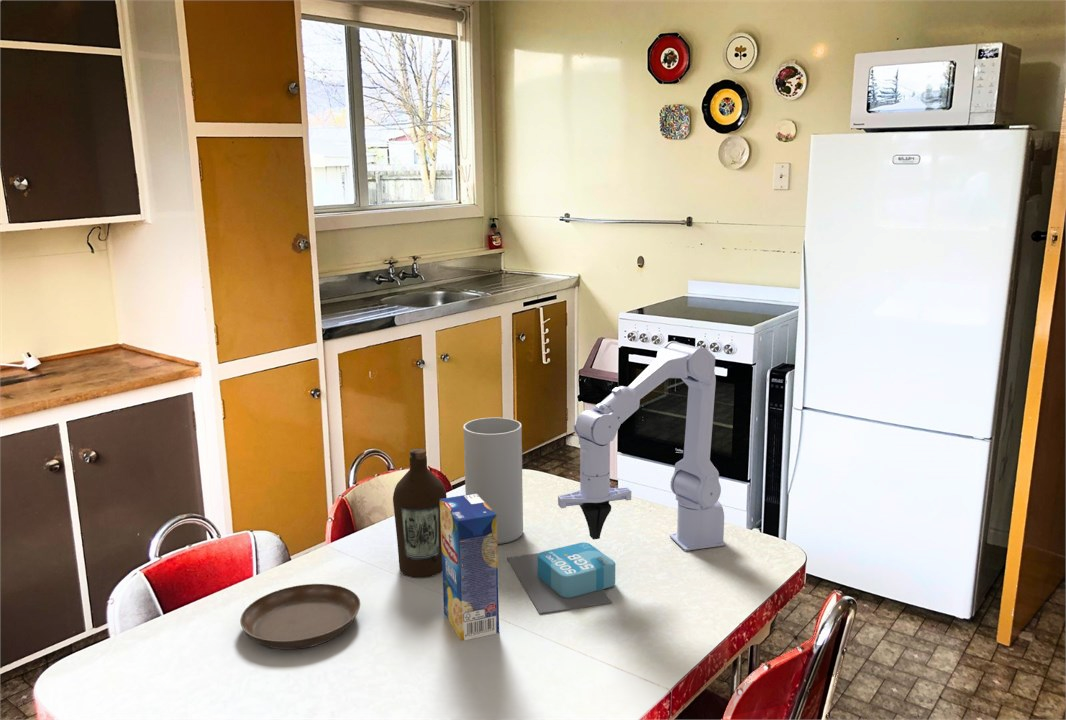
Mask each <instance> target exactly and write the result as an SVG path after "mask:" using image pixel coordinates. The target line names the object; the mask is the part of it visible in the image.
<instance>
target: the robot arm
mask: <svg viewBox="0 0 1066 720" xmlns="http://www.w3.org/2000/svg"><path fill="white" fill-rule="evenodd" d="M715 367H716V356H715V355H714V354H713V353H712V352H711V351H710V350H709V349H708V348H706V347H700V346H699V347H698V346H694V345H689V344H685V343H681V342H679V341H675V340H671V341H668V342H667V343H665V344H664V345H663V346H662V348H660V349H658V350H657V353H656V358H655V359H654V360H653V361H652V362H651V363H650V364H649V365H648V366H647V367H645V368H644V370H643V371H642V372H641V373H640V374H639V375H637V377H636V378H635V379H634V380H633V381H632V382H631V383H630V384H629V385H628V386H624V385H619V386H618V387H617V386H616V387H614V388H613V389H612V390H611V393H610V394H609V395H607V396H606V397H605V398H604V399H603V400H602V401H601V402H599V403H597V404H595V406H594V408H592V409H587V410H584V411H583V412H581V413H580V414H579V416H578V417H577V419H576V420H575V424H573V430H574V433H575V435H576V436H577V438H578V445H579V447H580V448H579V451H580V453H579V454H580V455H579V456H580V461H579V462H580V463H579V464H580V465H579V466H580V467H579V469H580V470H579V471H580V473H579V474H580V476H579V477H580V479H579V482H580V483H579V484H580V486H579V488H580V490H576V491H573V492H569V493H567V494H566V493H565V494H561V495H557V505H558V506H559V509H567V507H573V506H580V509H581V511H582V513H583V516H584V518H585V520H586V523H587V527H588V532H589V536H590V538H591V539H592V540H594V541H595V540H599V539H601V534H602V531H603V527H604V524H605V522H606V520H607V518H608V516H609V514H610V513H611V512H612V505H611V504H610V502H616V501H623V500H625V501H632V490H631V489H630V488H629V487H611V485H610V482H611V474H610V473H611V442H612V441H614V439H615V438H616V435H617V432H618V431H619V429H620V426H621V424H623V423H624V422H625V421H626V420H627V419H628V418H630V417H631V416H632V415H633V414H634V413H635V412H637V411H638V410H639V409H640V402H641V399H642V398H644V397H645V396H646V395H648V394H649V393H650V392H652V391H653V390H654V389H656V388H657V387H658V386H659V385H661V384H662V383H664V382H665V381H666V380H668V379H681V380H682V382H684V384H685V385H686V386H687V387H688V389H687V390H688V391H687V402H686V403H687V404H686V418H685V430H684V433H685V434H684V446H683V458H682V459H680V460H679V461H677V462H675V464H674V472H673V474H672V476H671V480H670V489H671V491H672V493H673V495H675V500H676V501H677V520H676V521H677V527H676V530H677V531H676V533H670V534H669V537H670V538H671V539H672V540H673V541H674V542H675V543H676V544H677V545H678V546H679V547H680V548H681V549H683V551H694V550H701V549H708V548H717V547H722V546H725V545H726V543H725V541H724V538H725V537H724V534H725V512H724V508H723V505H722V504H721V502H720V501H719V500H720V497H721V493H722V488H721V483H720V478H719V477H720V473H719V470H718V469H717V467H715V466H714V464H713V462H712V461H711V448H712V434H713V423H714V409H715V396H716V395H715V394H716V383H717V380H716V379H717V378H716V377H717V376H716V373H715Z"/></svg>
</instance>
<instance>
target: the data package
mask: <svg viewBox="0 0 1066 720" xmlns="http://www.w3.org/2000/svg"><path fill="white" fill-rule="evenodd" d="M538 553H539V554H538V577H539V578H541V579H542V580H543V581H544V582H545V583H546V584H548V585H549V586H550V587H551V588H552V589H553V590H554V591H556V592H557V593H558V594H559V595H560V596H562V597H564V598H572V597H576V596H579V595H583V594H587V593H590V592H594V591H598V590H602V589H603V590H604V589H608V588H609V589H610V588H611V587H614V586H615V585H616V562H615V560H613V559H611V558H610V557H609V556H608V555H606V554H605V553H604V552H602V551H600V550H599V549H597V548H596V547H595V546H593V545H592V544H591V543H589V542H578V543H575V544H569V545H565V546H562V547H556V548H553V549H548V550H543V551H541V552H538Z"/></svg>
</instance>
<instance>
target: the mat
mask: <svg viewBox="0 0 1066 720" xmlns="http://www.w3.org/2000/svg"><path fill="white" fill-rule="evenodd" d="M539 553H540V552H538V553H531V554H530V553H528V554H522V555H516V556H508V557H506V558H507V561H508V563H509V564H510V567H511V568H512V569H513V571H514V572H515V574H516V576H517V578H518V580H519V582H520V584H521V585H522V587H523V588H524V590H525V592H526V594H527V595H528V597H529V599H530V601H531V602H532V605H533V606H534V607H535V609H536V611H537V612H538V614H539V615H545V614H552V613H559V612H565V611H570V610H572V611H573V610H576V609H577V610H578V609H579V610H580V609H583V608H590V607H597V606H604V605H609V604H610V605H611V604H613V600H611V599H610V597H609V596H608V594H607V593H606V592H605V591H604V589H602V590H598V591H594V592H590V593H587V594H583V595H579V596H576V597H572V598H564V597H562V596H560V595H559V594H558V593H557V592H556V591H554V590H553V589H552V588H551V587H550V586H549V585H548V584H546V583H545V582H544V581H543V580H542V579H541V578H539V577H538V554H539Z"/></svg>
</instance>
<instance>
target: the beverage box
mask: <svg viewBox="0 0 1066 720" xmlns="http://www.w3.org/2000/svg"><path fill="white" fill-rule="evenodd" d="M440 522H441V549H442V572H441V573H442V596H443V598H442V599H443V600H442V601H443V613H444V615H445V616H446V618H447V619H448V621H449V623H450V625H451V626H452V628H453V629H454V632H456V634H457V636H458V637H459V639H460V641H461V642H464V641H469V640H473V639H477V638H482V637H486V636H490V635H491V636H492V635H496V634H499V633H500V611H499V607H500V601H499V569H498V568H499V566H498V565H499V564H498V562H499V557H498V544H497V515H496V514H495V513H494V511H493V510H492V509H491V508H490V507H489V506H488V505H487V504H486V503H485V502H484V501H483V500H482V499H481V498H480V497H479V496H478V495H477V494H476V493H475V494H468V495H466V494H463V495H457V496H450V497H447V498H443V499H440Z"/></svg>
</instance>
